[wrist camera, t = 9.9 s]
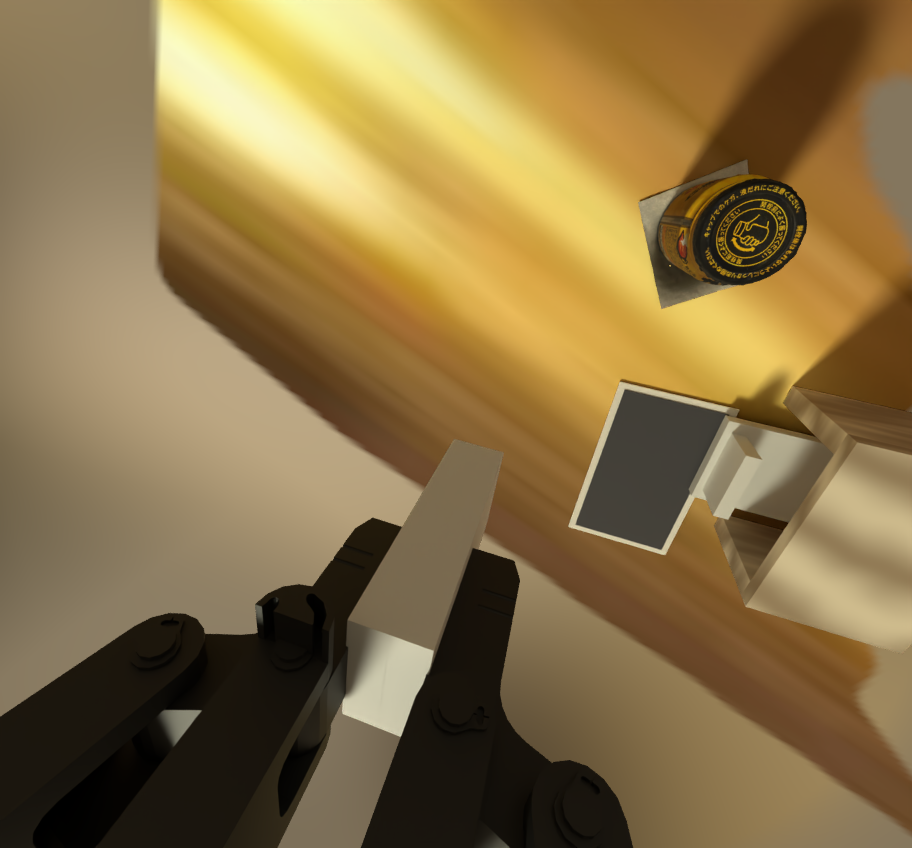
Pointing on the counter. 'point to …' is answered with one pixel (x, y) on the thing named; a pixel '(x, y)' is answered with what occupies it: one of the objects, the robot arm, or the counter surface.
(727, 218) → the condiment
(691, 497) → the pad
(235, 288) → the counter surface
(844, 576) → the tunnel
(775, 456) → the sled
